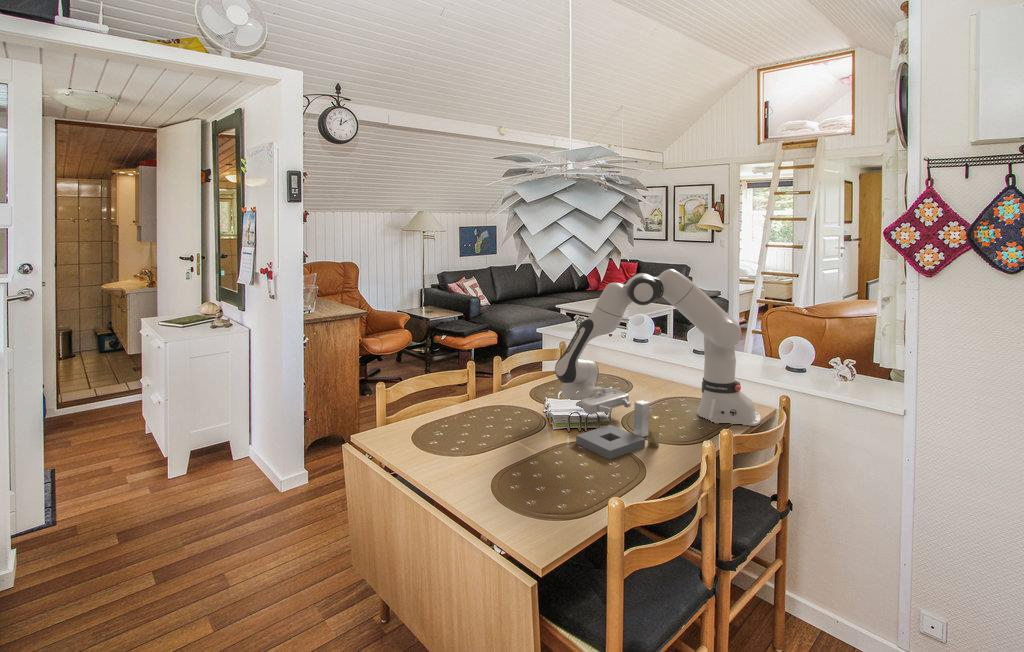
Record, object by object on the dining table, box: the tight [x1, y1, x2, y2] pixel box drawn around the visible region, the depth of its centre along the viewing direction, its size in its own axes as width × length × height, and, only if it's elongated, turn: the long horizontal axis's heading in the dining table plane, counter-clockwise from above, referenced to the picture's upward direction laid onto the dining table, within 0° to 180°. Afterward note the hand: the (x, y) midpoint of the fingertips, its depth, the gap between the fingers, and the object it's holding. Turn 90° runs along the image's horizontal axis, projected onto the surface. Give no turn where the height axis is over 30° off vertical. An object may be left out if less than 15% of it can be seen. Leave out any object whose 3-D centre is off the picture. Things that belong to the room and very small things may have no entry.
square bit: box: [633, 399, 651, 438], centre depth 197 cm, size 4×4×12 cm
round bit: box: [647, 415, 661, 449], centre depth 188 cm, size 4×4×10 cm
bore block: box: [575, 424, 646, 460], centre depth 189 cm, size 16×16×3 cm
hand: (620, 408), depth 205 cm, fingers open, 8 cm apart
